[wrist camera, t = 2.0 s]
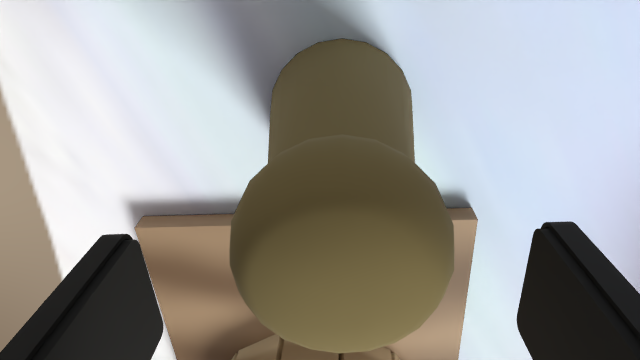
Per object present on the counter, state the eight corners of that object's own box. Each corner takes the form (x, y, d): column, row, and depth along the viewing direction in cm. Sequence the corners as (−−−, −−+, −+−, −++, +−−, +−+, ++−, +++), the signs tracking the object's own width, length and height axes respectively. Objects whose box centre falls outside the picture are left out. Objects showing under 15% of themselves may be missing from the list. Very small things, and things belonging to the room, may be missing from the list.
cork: (291, 17, 16) (222, 118, 7) (436, 66, 17) (559, 221, 8) (255, 152, 19) (171, 358, 10) (381, 189, 20) (418, 417, 10)
